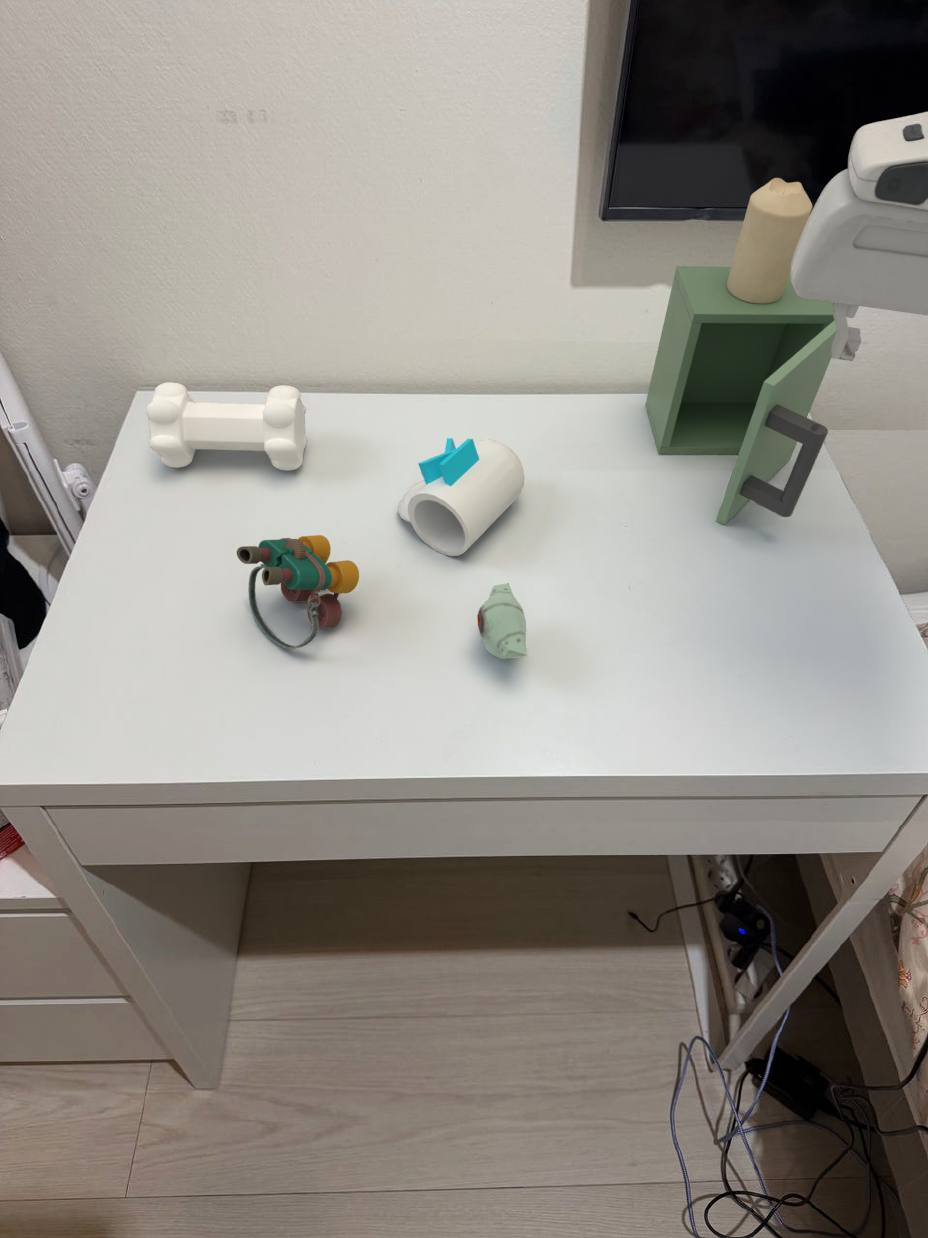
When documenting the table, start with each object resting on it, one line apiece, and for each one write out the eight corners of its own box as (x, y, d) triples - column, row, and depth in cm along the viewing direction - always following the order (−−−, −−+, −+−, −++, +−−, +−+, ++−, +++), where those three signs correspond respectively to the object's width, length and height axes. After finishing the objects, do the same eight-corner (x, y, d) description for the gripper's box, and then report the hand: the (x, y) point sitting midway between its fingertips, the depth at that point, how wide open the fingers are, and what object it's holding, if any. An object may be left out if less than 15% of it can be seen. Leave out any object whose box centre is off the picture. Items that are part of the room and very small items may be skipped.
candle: (714, 281, 84) (742, 177, 76) (759, 271, 86) (791, 167, 78) (748, 309, 81) (781, 202, 73) (794, 297, 82) (831, 192, 75)
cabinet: (783, 454, 94) (839, 314, 81) (658, 454, 93) (694, 313, 80) (763, 405, 100) (812, 266, 86) (645, 404, 99) (676, 265, 86)
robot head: (530, 686, 73) (537, 638, 68) (483, 692, 73) (487, 644, 67) (512, 616, 78) (517, 566, 73) (468, 621, 78) (471, 570, 72)
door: (834, 481, 91) (899, 343, 78) (770, 550, 84) (830, 411, 71) (781, 455, 93) (836, 318, 81) (715, 520, 87) (763, 381, 74)
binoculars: (335, 661, 77) (376, 570, 73) (254, 674, 70) (295, 573, 66) (276, 602, 81) (312, 513, 77) (194, 609, 74) (229, 511, 70)
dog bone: (157, 482, 89) (136, 418, 82) (176, 430, 94) (157, 367, 88) (300, 485, 89) (290, 422, 82) (311, 433, 94) (302, 371, 88)
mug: (519, 410, 81) (447, 477, 75) (543, 490, 87) (478, 560, 80) (429, 410, 89) (357, 471, 82) (456, 484, 94) (390, 547, 87)
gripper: (1179, 164, 51) (1052, 362, 62) (831, 125, 54) (767, 321, 65) (1212, 210, 47) (1070, 414, 58) (835, 165, 50) (766, 368, 61)
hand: (908, 365), depth 61 cm, fingers open, 8 cm apart
